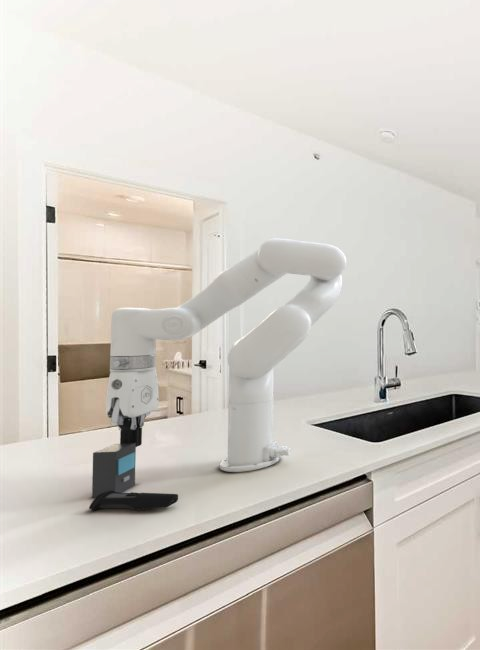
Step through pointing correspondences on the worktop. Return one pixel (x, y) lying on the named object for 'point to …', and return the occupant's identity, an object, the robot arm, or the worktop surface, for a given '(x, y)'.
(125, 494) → the electric trimmer
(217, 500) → the worktop surface
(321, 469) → the worktop surface
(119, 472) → the dark grey box
